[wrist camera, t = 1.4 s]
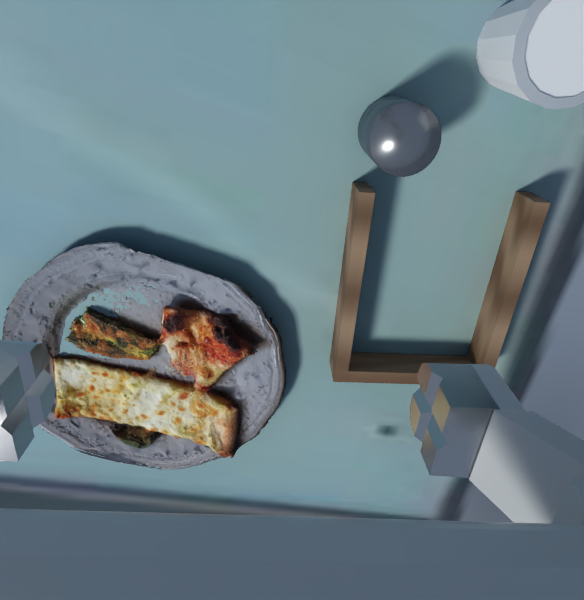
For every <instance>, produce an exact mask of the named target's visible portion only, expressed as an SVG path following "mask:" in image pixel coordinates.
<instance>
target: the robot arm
mask: <svg viewBox="0 0 584 600" xmlns="http://www.w3.org/2000/svg"><path fill="white" fill-rule="evenodd" d="M49 361H50V359H49V355H48V350H47V347H46V346H45V345H43V344H42V343H34V342H20V341H6V340H0V461H19V459H20V458H21V456H22V455H23V453H24V452H25V450H26V449H27V447H28V446H29V444H30V443H31V441H32V440H33V438H34V433H33V428H34V427H36V426H37V425H39V424H41V423H42V422H44V421H45V420H46V418H47V416H48V415H49V413H50V412H51V408H52V405H53V401H54V395H55V386H54V380H53V377H52V376H51V375H50V374H49V373H48V372H47V371H46V370H45V369H44V368H45V367H46V365H47V364H48V362H49ZM417 380H418V382H419V384H420V388H419V389H418V390H417V391H416V392H415V393H414V394H413V396H412V400H411V405H410V421H411V426H412V430H413V433H414V435H415V437H417V438H418V439H419V440H420V441H422V442H423V444H422V448H421V454H422V456H423V459H424V462H425V464H426V467H427V469H428V472H429V474H430V475H433V476H450V477H466V478H470V479H469V480H470V481H471V482H472V483H473V484H474V485H475V486H476V487H478V488H479V489H480V490H481V491H482V492H483V493H484V494H485V495H486V496H487V497H488V498H489V499H490V500H491V501H492V502H493V503H494V504H495V505H496V506H497V507H498V508H499V509H501V510H502V511H503V512H504V513H505V514H506V515H507V516H508V517H509V518H510V519H511V520H512V521H513V522H514V523H510V522H467V521H466V522H465V521H432V520H398V519H363V518H328V517H293V516H257V515H218V514H178V513H142V512H103V511H69V510H34V509H0V600H584V440H582V439H581V438H579V437H577V436H575V435H574V434H572V433H570V432H568V431H567V430H565V429H563V428H562V427H560V426H558V425H556V424H555V423H553V422H551V421H549V420H548V419H546V418H544V417H542V416H541V415H539V414H537V413H535V412H534V411H526V410H525V409H524V407H523V406H522V405H521V403H520V402H519V401H518V399H517V398H516V397H515V395H514V394H513V392H512V391H511V390H510V388H509V387H508V386H507V384H506V383H505V382H504V380H503V379H502V378H501V376H500V375H499V374H498V372H497V371H496V369H495V368H494V367H493V366H491V365H489V364H442V363H422V365H421V367H420V368H419V372H418V376H417Z"/></svg>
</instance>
